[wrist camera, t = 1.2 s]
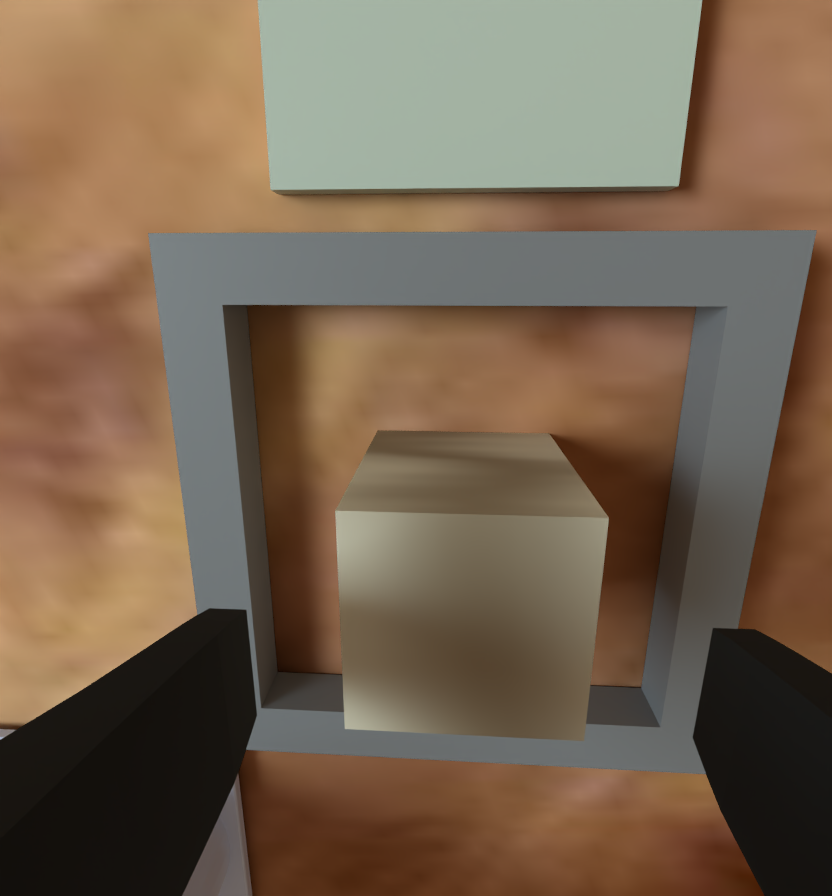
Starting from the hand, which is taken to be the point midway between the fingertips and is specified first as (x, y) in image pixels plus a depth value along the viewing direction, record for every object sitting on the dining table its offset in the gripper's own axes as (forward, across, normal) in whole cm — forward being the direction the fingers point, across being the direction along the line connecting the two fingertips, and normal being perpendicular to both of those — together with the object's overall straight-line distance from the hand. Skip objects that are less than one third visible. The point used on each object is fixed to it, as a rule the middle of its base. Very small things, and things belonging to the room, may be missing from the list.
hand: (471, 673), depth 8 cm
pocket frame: (+6, 0, 0) cm, 7 cm away
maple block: (+7, 0, 0) cm, 7 cm away
